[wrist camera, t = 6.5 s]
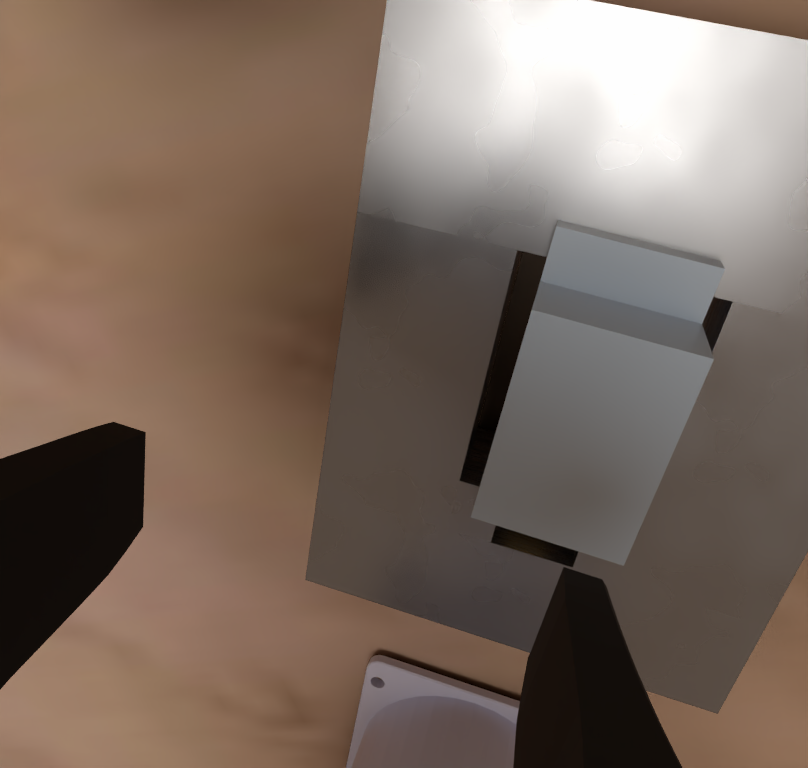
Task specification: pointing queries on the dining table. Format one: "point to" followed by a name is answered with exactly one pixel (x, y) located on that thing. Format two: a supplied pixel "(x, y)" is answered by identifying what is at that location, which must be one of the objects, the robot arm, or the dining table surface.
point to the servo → (599, 391)
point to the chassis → (491, 293)
